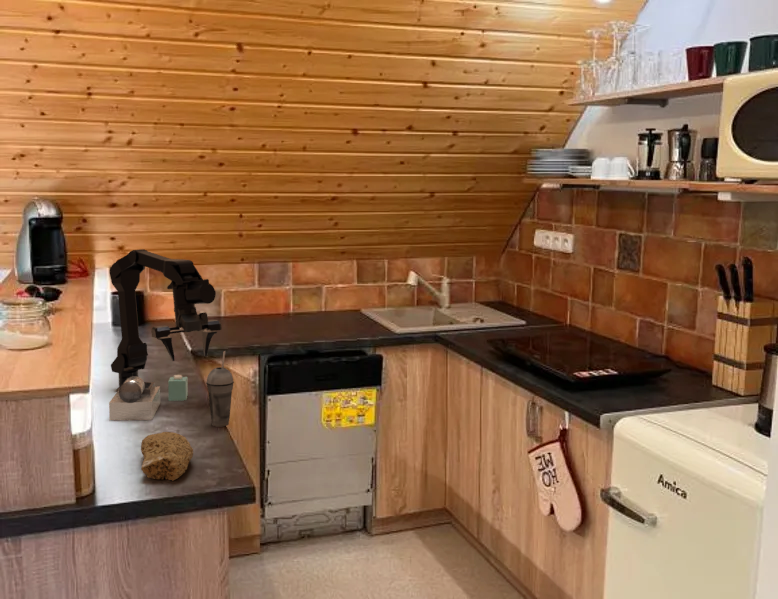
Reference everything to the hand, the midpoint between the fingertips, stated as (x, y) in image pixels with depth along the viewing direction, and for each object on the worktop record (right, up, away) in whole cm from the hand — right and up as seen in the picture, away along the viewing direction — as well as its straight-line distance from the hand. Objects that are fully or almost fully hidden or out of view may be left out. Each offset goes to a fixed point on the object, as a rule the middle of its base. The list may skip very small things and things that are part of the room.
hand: (189, 358), depth 218 cm
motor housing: (-14, -15, -4) cm, 21 cm away
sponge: (+6, -22, -44) cm, 49 cm away
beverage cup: (+12, -17, -13) cm, 24 cm away
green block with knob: (-6, -13, +10) cm, 17 cm away
